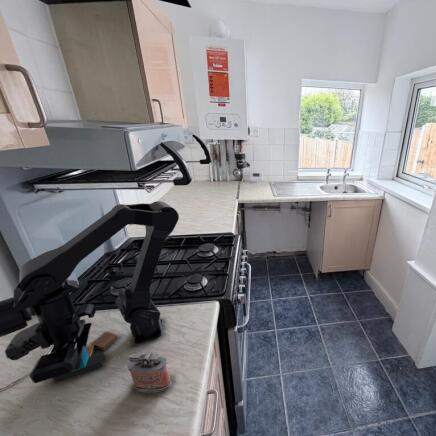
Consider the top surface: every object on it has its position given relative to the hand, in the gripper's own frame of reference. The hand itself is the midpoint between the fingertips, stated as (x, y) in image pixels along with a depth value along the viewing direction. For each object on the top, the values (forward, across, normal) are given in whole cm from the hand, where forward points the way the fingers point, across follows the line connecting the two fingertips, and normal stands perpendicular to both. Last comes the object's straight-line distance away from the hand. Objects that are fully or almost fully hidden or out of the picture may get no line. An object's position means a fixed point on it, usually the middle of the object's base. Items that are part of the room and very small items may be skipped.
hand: (79, 362), depth 56 cm
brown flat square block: (+2, -6, +4) cm, 8 cm away
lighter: (+2, +11, +16) cm, 20 cm away
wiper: (+2, 0, 0) cm, 2 cm away
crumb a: (+2, -4, 0) cm, 4 cm away
